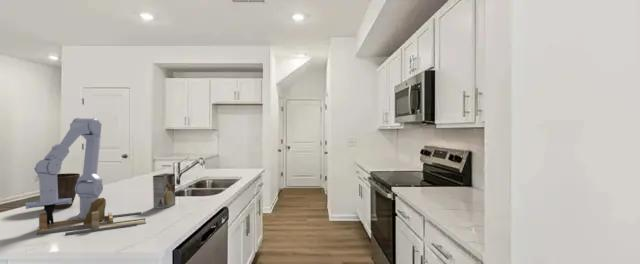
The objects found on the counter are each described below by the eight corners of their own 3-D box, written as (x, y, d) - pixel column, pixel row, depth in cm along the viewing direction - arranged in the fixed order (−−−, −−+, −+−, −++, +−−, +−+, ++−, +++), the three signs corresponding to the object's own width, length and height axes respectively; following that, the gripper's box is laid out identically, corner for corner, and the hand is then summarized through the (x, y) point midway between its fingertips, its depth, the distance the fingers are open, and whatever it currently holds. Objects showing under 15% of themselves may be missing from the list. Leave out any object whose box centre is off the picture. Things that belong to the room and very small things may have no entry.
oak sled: (40, 226, 146) (39, 211, 145) (111, 217, 159) (111, 203, 159) (37, 234, 136) (36, 217, 136) (113, 224, 150) (113, 209, 150)
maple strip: (91, 227, 144) (91, 211, 144) (144, 220, 155) (144, 205, 155) (92, 230, 141) (91, 214, 140) (145, 223, 151) (145, 207, 151)
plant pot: (38, 208, 176) (37, 175, 176) (72, 202, 189) (72, 172, 188) (50, 212, 168) (49, 178, 167) (85, 206, 180) (85, 174, 180)
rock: (89, 220, 143) (113, 212, 152) (79, 203, 145) (104, 196, 154) (79, 234, 148) (104, 225, 157) (70, 216, 150) (95, 209, 158)
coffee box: (164, 203, 187) (164, 173, 187) (175, 204, 186) (175, 173, 185) (152, 207, 178) (152, 175, 178) (164, 208, 177) (164, 176, 176)
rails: (40, 225, 146) (40, 224, 146) (140, 213, 167) (140, 211, 167) (34, 239, 130) (34, 237, 130) (147, 223, 150) (147, 222, 150)
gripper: (23, 194, 135) (25, 229, 136) (70, 189, 143) (72, 223, 144) (26, 190, 141) (27, 225, 141) (71, 186, 149) (72, 218, 149)
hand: (50, 223), depth 143 cm, fingers closed, pressing on oak sled
